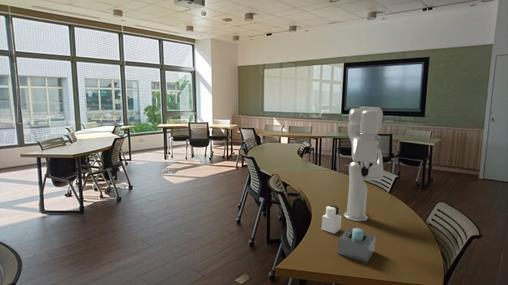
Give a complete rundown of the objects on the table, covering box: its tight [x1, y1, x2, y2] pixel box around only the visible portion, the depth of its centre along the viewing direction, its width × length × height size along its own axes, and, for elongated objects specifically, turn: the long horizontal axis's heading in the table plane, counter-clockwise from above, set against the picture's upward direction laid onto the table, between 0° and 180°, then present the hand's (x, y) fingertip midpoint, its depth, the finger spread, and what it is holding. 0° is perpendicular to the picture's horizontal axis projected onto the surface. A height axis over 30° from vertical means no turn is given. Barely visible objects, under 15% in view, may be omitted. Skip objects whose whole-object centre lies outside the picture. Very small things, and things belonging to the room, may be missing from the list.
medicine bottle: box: [320, 204, 342, 234], centre depth 153 cm, size 7×7×12 cm
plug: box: [352, 227, 365, 242], centre depth 130 cm, size 4×4×10 cm
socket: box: [337, 228, 377, 264], centre depth 130 cm, size 12×12×7 cm
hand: (364, 175), depth 145 cm, fingers closed
